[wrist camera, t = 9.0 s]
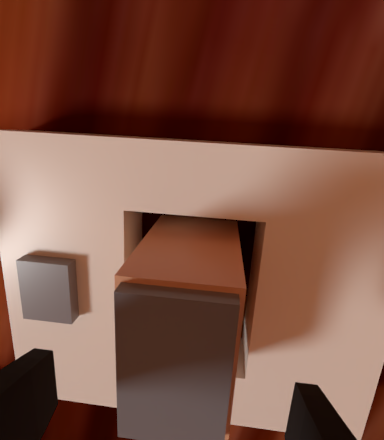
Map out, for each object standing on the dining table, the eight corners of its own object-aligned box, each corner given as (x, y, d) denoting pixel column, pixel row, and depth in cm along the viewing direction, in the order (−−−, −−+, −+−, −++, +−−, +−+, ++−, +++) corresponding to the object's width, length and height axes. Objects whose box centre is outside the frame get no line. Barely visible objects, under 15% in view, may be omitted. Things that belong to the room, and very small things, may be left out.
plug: (227, 319, 17) (228, 457, 10) (159, 312, 17) (112, 440, 10) (236, 220, 15) (247, 299, 8) (161, 214, 16) (106, 285, 8)
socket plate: (338, 392, 18) (366, 457, 14) (51, 354, 19) (11, 405, 16) (398, 152, 14) (459, 158, 10) (28, 129, 15) (-32, 128, 12)
